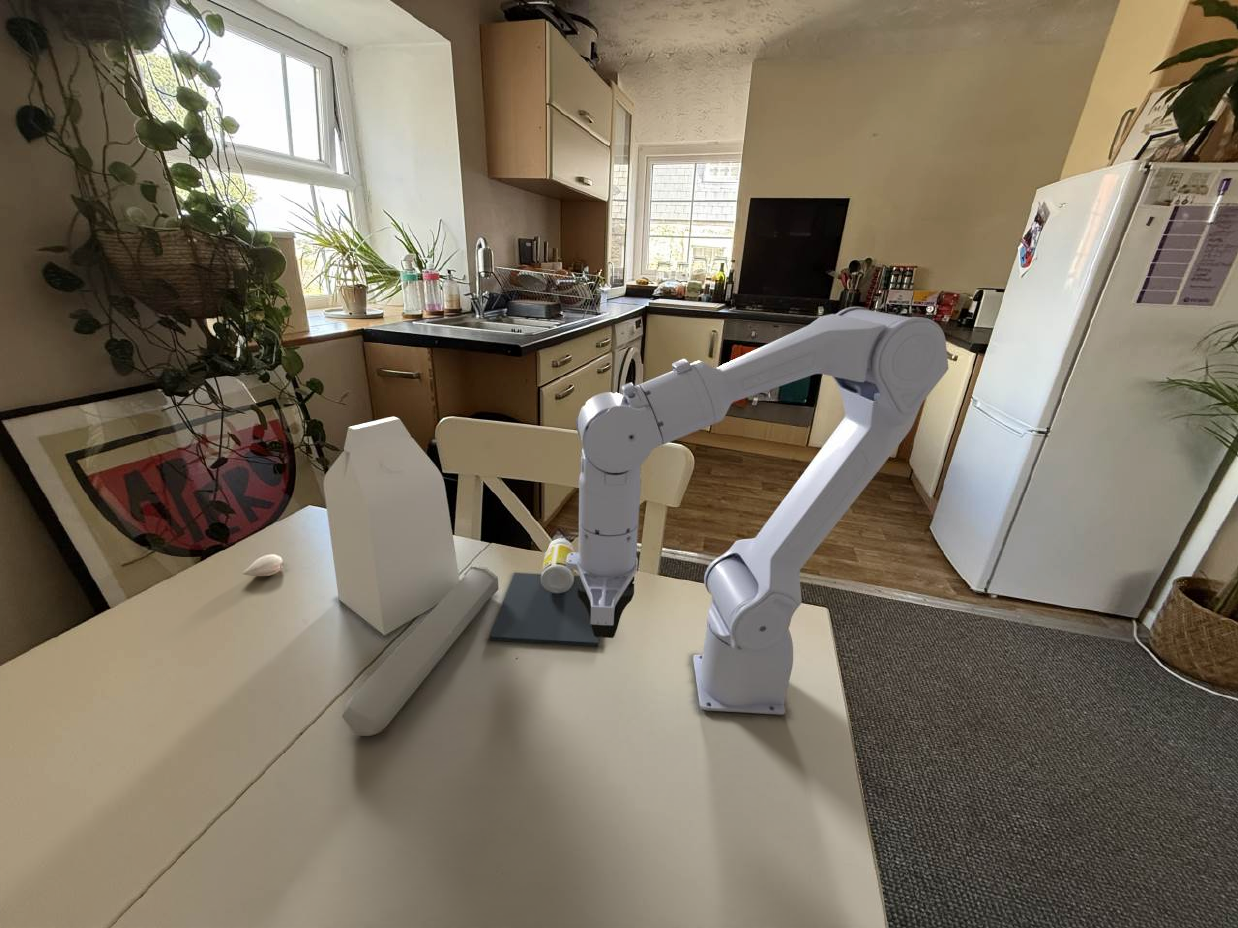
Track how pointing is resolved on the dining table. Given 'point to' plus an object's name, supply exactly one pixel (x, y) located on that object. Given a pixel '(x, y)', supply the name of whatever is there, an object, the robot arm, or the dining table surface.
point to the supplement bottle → (557, 567)
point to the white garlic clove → (265, 566)
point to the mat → (542, 614)
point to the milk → (389, 526)
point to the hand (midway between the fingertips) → (604, 632)
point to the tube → (418, 654)
